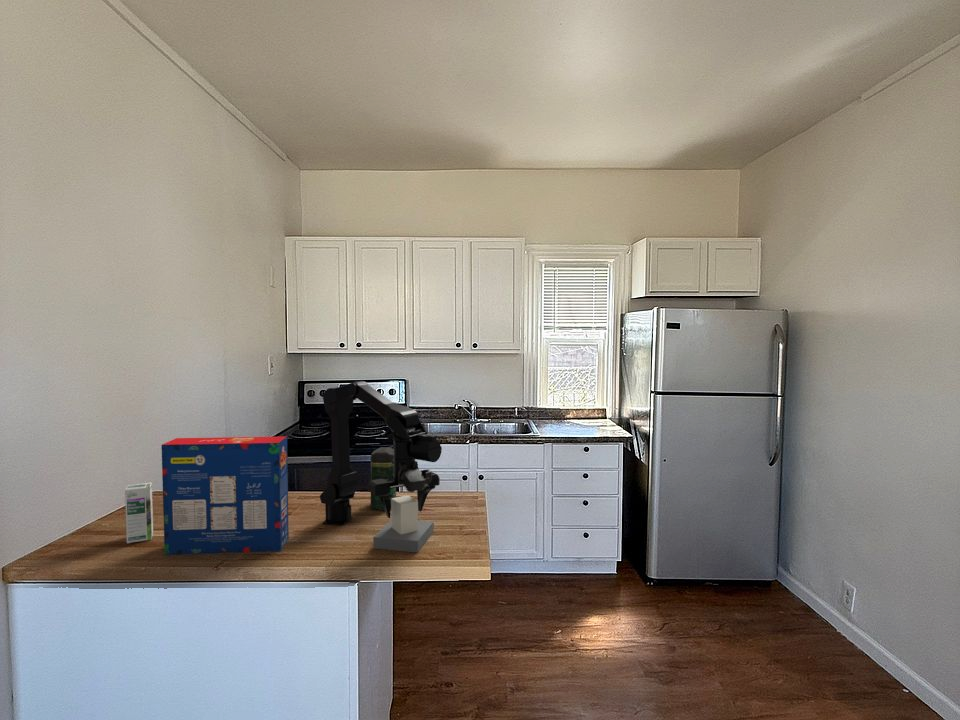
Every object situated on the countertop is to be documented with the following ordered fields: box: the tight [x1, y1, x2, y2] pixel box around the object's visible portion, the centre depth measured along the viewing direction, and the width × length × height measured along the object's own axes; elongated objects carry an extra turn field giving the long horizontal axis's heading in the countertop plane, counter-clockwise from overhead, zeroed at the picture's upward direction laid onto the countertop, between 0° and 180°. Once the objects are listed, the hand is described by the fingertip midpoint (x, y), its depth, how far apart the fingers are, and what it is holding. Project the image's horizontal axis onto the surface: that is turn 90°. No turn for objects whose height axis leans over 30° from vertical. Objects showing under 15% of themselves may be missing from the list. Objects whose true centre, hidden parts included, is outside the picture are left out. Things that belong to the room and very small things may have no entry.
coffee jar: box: [370, 446, 397, 511], centre depth 169 cm, size 10×8×19 cm
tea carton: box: [390, 495, 419, 534], centre depth 141 cm, size 6×5×8 cm
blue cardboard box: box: [160, 435, 290, 556], centre depth 136 cm, size 28×8×28 cm, turn 96°
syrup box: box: [124, 481, 154, 544], centre depth 142 cm, size 6×6×14 cm
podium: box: [373, 519, 435, 554], centre depth 142 cm, size 12×14×3 cm
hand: (404, 514), depth 141 cm, fingers open, 9 cm apart
